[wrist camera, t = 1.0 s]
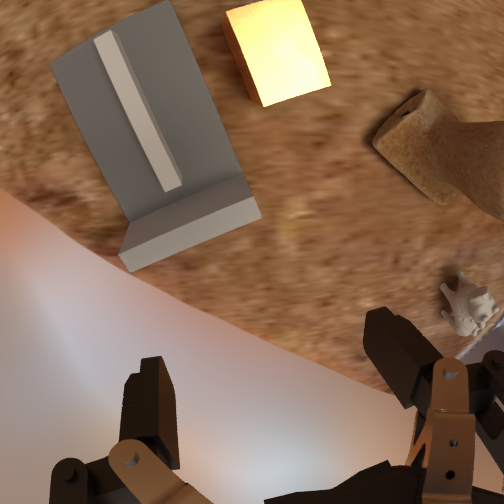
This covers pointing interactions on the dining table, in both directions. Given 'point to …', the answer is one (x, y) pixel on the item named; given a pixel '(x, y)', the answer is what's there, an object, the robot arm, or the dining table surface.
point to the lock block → (275, 50)
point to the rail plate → (166, 102)
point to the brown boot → (445, 153)
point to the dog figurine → (468, 307)
